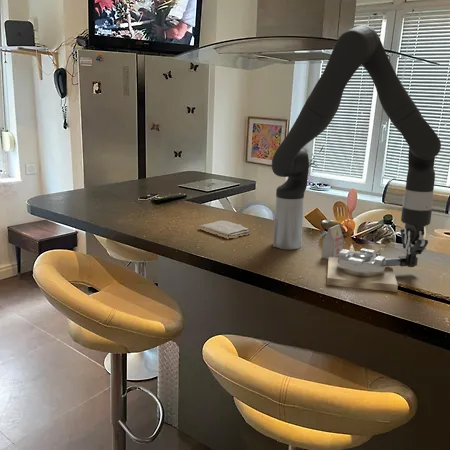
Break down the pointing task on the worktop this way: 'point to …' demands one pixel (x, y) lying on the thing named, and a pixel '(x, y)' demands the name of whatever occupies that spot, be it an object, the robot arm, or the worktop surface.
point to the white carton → (332, 242)
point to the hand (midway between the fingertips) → (409, 266)
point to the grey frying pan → (366, 262)
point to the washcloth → (226, 228)
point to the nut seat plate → (361, 278)
